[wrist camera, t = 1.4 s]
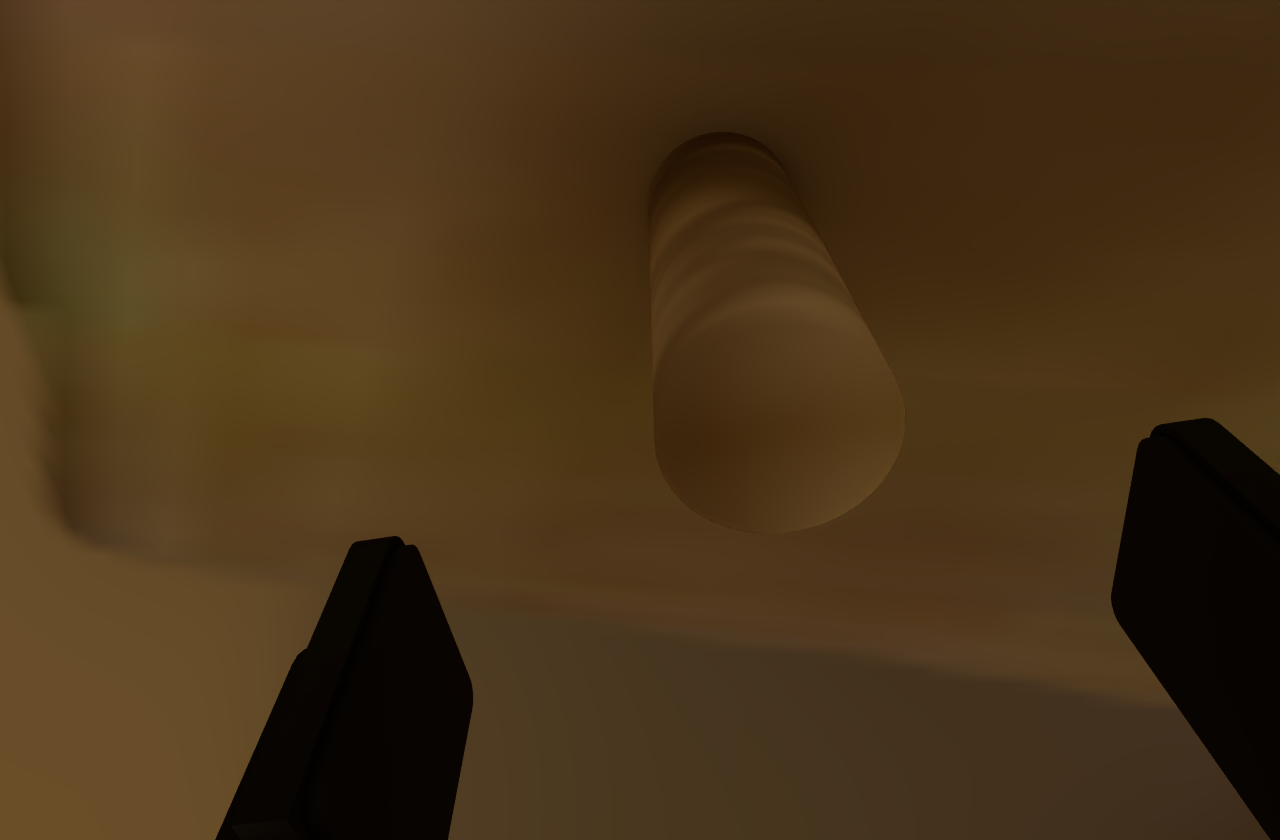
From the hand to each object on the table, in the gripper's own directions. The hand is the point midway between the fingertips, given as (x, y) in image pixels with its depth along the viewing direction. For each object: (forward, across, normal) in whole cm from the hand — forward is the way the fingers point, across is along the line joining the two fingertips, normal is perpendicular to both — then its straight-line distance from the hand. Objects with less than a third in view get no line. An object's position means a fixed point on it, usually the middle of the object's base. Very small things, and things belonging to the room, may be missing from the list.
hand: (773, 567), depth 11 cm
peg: (+15, -1, 0) cm, 15 cm away
